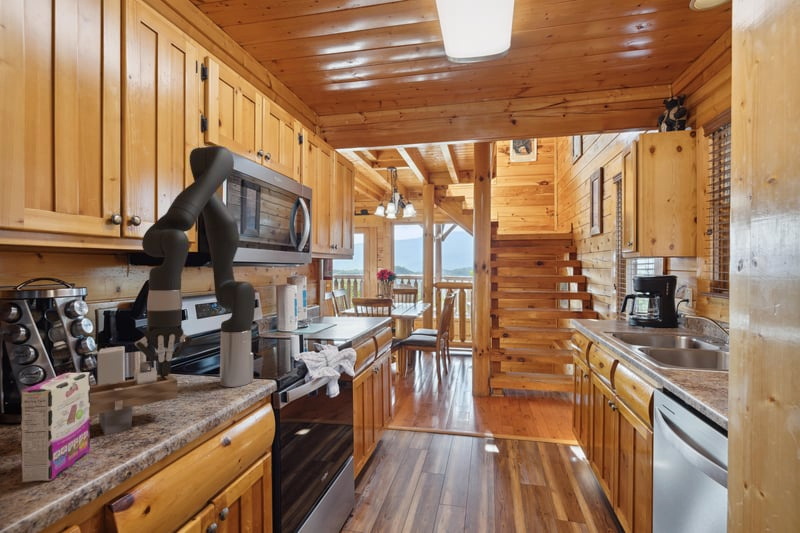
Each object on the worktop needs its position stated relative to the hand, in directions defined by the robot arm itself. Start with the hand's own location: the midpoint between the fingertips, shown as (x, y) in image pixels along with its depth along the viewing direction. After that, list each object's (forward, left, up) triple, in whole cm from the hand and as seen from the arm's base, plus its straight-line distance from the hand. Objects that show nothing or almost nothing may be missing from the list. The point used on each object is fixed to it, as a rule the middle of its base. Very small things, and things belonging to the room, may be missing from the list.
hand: (163, 375), depth 98 cm
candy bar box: (+21, +15, -10) cm, 28 cm away
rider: (+4, 0, -3) cm, 5 cm away
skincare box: (+8, -20, -10) cm, 24 cm away
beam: (+10, 0, -10) cm, 14 cm away
